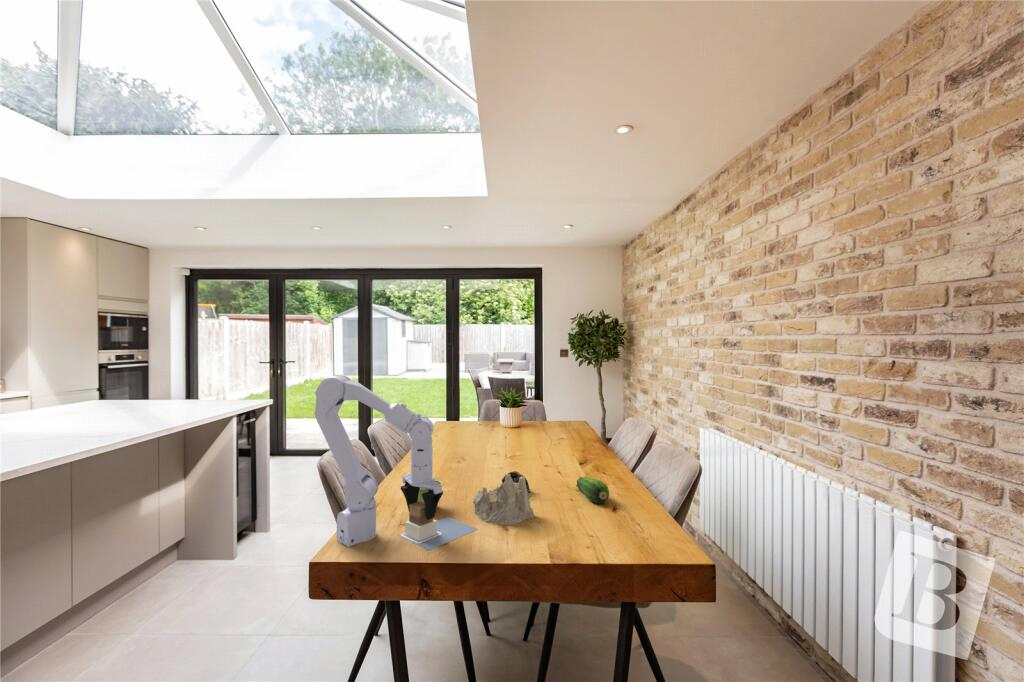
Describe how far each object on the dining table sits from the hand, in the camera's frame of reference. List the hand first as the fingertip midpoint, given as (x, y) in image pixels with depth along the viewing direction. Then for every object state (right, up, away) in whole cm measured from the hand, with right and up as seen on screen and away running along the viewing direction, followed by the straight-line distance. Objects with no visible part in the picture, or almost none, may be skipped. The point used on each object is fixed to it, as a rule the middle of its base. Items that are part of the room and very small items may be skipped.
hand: (421, 514), depth 117 cm
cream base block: (0, -5, 0) cm, 5 cm away
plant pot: (-2, -7, +19) cm, 20 cm away
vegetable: (+51, -7, +34) cm, 62 cm away
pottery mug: (+26, -7, +39) cm, 47 cm away
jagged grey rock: (+22, -7, +14) cm, 27 cm away
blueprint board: (+5, -6, +1) cm, 8 cm away
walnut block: (0, -2, 0) cm, 2 cm away
